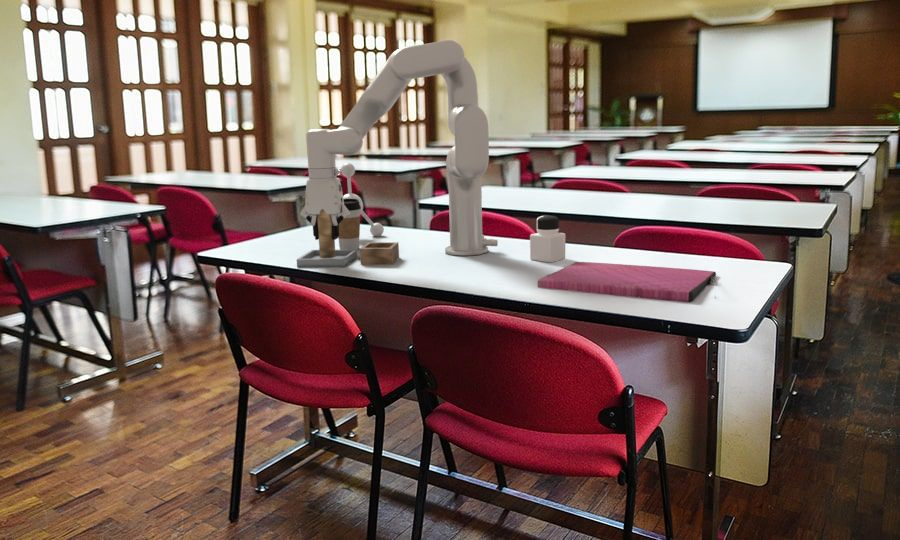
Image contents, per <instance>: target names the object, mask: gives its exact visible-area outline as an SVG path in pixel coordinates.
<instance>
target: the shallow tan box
mask: <svg viewBox="0 0 900 540" xmlns="http://www.w3.org/2000/svg"><path fill="white" fill-rule="evenodd" d="M399 244H400V243H399V241H398V242H396V241H395V242H391V241H390V242H387V241H386V242H384V241H383V242H382V241H381V242H380V241H379V242H378V241H377V242H371V241H370V242H369V241H368V242H367V243H365V244H364V245H363V246H361V247H359V256H360V257H359V258H360V259H359V260H360V265H394V264H395V263H396V262H397V260H399V259H400V250H399V249H400V247H399Z"/></svg>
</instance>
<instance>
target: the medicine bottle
mask: <svg viewBox="0 0 900 540" xmlns="http://www.w3.org/2000/svg"><path fill="white" fill-rule="evenodd" d="M559 231H560V218H559V217H557V216H555V215H541V216H538V217H537V218H536V233H531V234H530V235H529V249H530V250H529V252H530V254H529V259H530V260H531V261H535V262H536V261H537V262H542V263H554V262H557V261H561V260H564V259H566V233H564V232H559Z"/></svg>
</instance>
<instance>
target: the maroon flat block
mask: <svg viewBox="0 0 900 540" xmlns="http://www.w3.org/2000/svg"><path fill="white" fill-rule="evenodd" d="M716 276H717V272H716V271H710V270H703V269H701V270H700V269H691V268H679V267H678V268H677V267H664V266H651V265H650V266H647V265H635V264H624V263H623V264H622V263H605V262H589V261H575V262H574V263H571V264H570V265H568V266H565V267H563V268H561V269H559V270H557V271H555V272H553V273H550V274H547V275H545V276H543V277H540V278H538V279H537V287H538V288H542V289H550V290H561V291H571V292H582V293H589V294H590V293H591V294H601V295H610V296H611V295H612V296H620V297H629V298H642V299H652V300H664V301H671V302H683V303H685V302H686V303H691V302H693V301H694V300H695V299H696V298H697V296H698V295H699V294H700V293H701V292H702V290H704V288H705V287H706V286H707V285H708V284H709V283H710V285H713V282H715V283H717V280H716V279H715V277H716Z"/></svg>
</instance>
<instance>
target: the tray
mask: <svg viewBox="0 0 900 540" xmlns="http://www.w3.org/2000/svg"><path fill="white" fill-rule="evenodd" d="M335 255H336V257H333V258H320V250H319V249H311V250H310V251H308V252H306V253H305V254H303V255H302V256H299V257H298V258H297V259H296V267H297V268H298V267H299V268H346V267H347V266H348V265H349V264H350V263H351V262H353V261H354V260H355V259H357V258H358V249H357V250H340V249H335ZM300 266H301V267H300ZM303 266H305V267H303ZM306 266H307V267H306Z"/></svg>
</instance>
